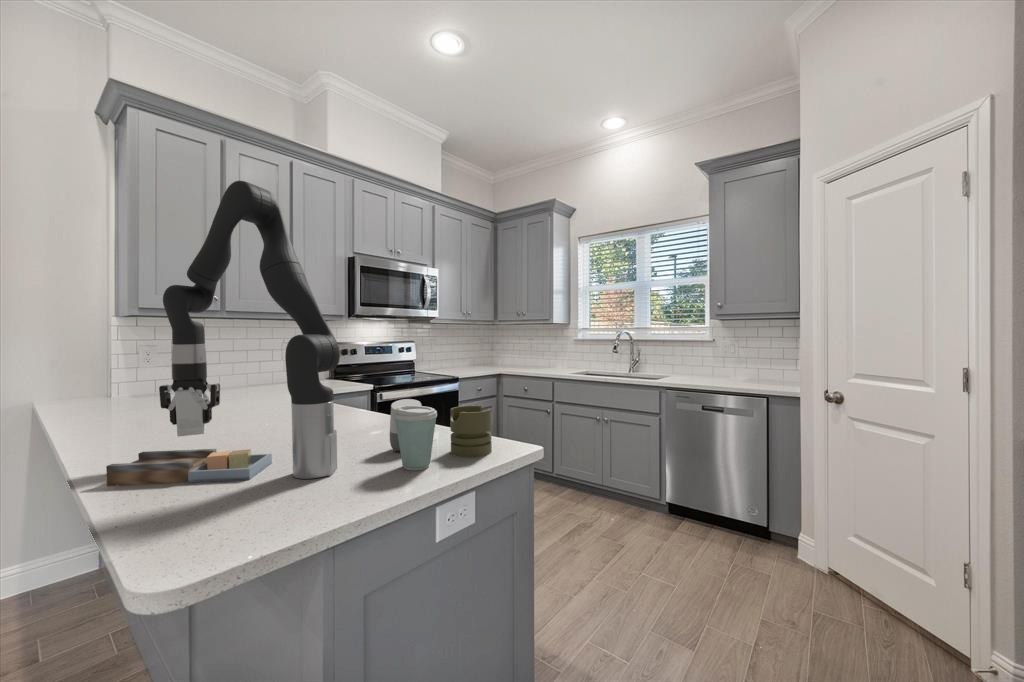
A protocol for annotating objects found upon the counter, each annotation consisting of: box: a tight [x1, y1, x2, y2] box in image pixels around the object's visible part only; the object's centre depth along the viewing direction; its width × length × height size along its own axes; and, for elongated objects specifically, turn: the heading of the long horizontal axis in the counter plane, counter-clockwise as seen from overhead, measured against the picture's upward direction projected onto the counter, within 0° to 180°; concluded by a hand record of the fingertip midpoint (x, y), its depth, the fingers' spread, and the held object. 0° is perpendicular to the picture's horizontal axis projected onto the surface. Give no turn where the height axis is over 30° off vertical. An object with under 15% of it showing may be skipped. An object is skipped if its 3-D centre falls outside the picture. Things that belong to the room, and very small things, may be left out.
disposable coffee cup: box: [394, 405, 438, 471], centre depth 113 cm, size 11×11×15 cm
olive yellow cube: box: [229, 448, 252, 469], centre depth 111 cm, size 4×4×4 cm
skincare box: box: [174, 390, 207, 437], centre depth 121 cm, size 6×4×12 cm
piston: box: [449, 405, 493, 459], centre depth 126 cm, size 11×12×11 cm
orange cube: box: [207, 450, 232, 470], centre depth 110 cm, size 4×4×4 cm
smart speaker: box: [389, 398, 423, 453], centre depth 129 cm, size 10×9×14 cm
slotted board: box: [105, 448, 217, 487], centre depth 108 cm, size 17×12×4 cm
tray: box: [187, 453, 273, 484], centre depth 110 cm, size 13×13×2 cm
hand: (191, 423), depth 121 cm, fingers closed on skincare box, 7 cm apart
